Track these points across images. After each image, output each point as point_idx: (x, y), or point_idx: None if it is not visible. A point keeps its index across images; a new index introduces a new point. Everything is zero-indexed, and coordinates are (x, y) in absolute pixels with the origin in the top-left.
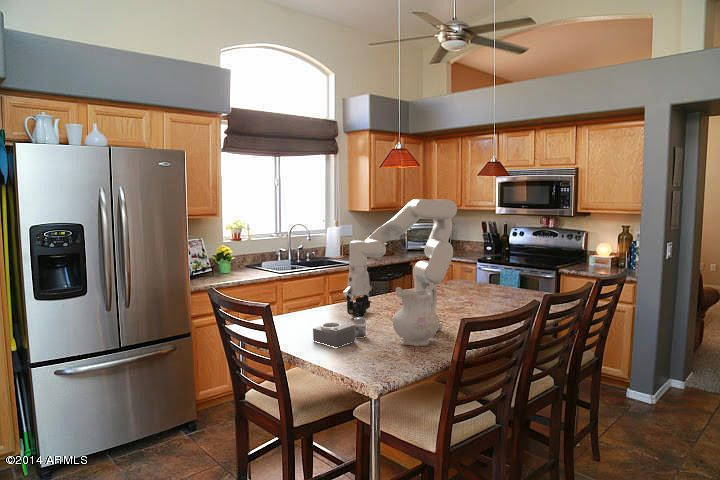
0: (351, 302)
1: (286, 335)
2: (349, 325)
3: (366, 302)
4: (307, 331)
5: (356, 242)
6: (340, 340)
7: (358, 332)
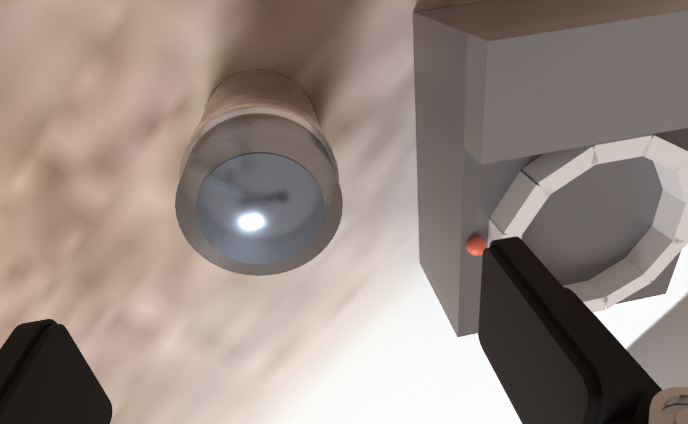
0: (612, 372)
1: None
2: (543, 70)
3: (29, 404)
4: (449, 399)
5: None
6: None
7: (309, 108)
